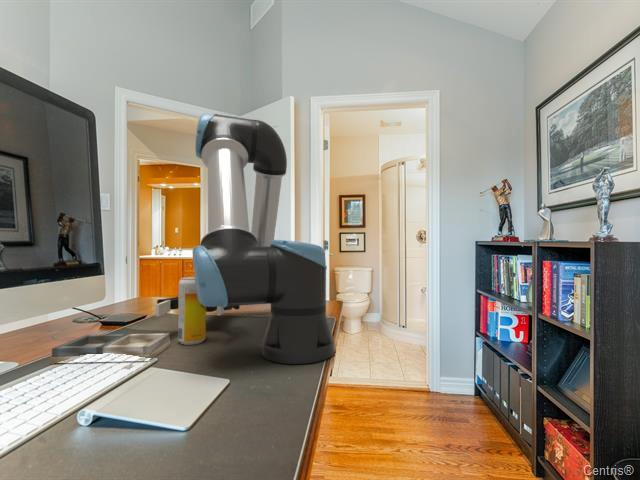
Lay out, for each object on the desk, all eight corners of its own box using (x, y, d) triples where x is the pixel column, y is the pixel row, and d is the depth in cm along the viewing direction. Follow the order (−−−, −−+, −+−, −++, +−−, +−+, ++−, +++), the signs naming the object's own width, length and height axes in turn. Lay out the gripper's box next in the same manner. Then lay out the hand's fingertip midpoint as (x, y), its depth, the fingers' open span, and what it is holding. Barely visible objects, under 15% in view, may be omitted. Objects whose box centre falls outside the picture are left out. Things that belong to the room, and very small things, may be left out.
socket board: (170, 345, 73) (170, 332, 73) (148, 361, 62) (148, 347, 62) (87, 347, 72) (87, 334, 72) (49, 364, 61) (50, 349, 61)
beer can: (211, 340, 77) (211, 277, 77) (188, 347, 72) (189, 279, 72) (195, 337, 80) (195, 276, 81) (172, 342, 75) (173, 278, 76)
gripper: (255, 309, 95) (243, 325, 74) (168, 310, 94) (131, 327, 72) (255, 283, 96) (243, 292, 74) (169, 284, 94) (131, 294, 73)
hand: (188, 310), depth 73 cm, fingers open, 13 cm apart
